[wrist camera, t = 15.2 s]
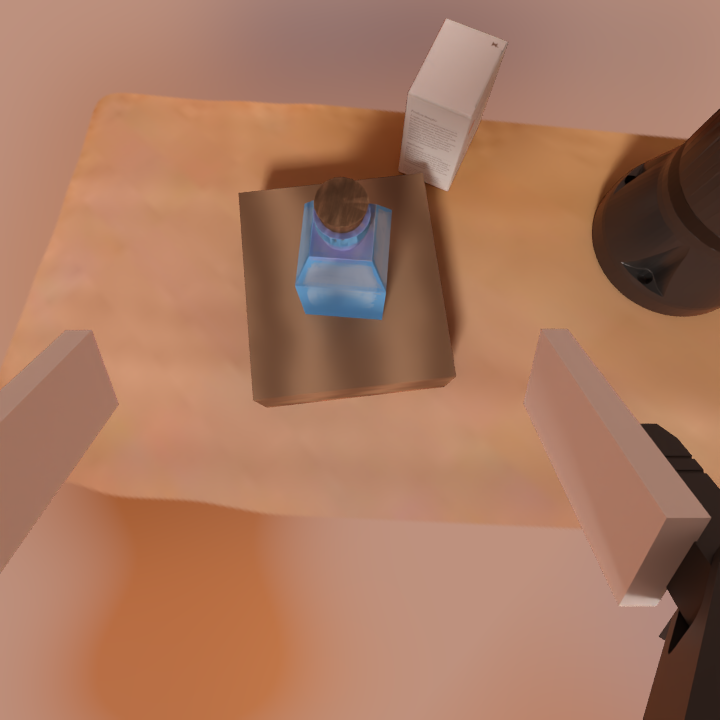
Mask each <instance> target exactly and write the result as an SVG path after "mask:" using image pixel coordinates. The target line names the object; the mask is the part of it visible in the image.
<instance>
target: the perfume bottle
mask: <svg viewBox="0 0 720 720" xmlns="http://www.w3.org/2000/svg"><path fill="white" fill-rule="evenodd" d="M391 216H392V210H391V209H388V208H385V207H383V206H380V205H377V204H369V201H368V195H367V193H366V191H365V189H364V188H363V186H362V185H361V184H360V183H358V182H357V181H355V180H353V179H350V178H345V177H337V178H333V179H330V180H327V181H326V182H324V183H323V184H322V185H320V187H319V188H318V190H317V191H316V193H315V196H314V200H313V201H310V202H308V203H305V204H304V213H303V222H302V230H301V239H300V248H299V256H298V265H297V274H296V282H295V287H296V290H297V293H298V295H299V298H300V301H301V303H302V306H303V309H304V311H305V314H312V315H325V316H338V317H351V318H364V319H377V320H382V315H383V309H384V303H385V296H386V286H387V272H388V258H389V244H390V230H391Z"/></svg>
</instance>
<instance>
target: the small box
mask: <svg viewBox="0 0 720 720" xmlns="http://www.w3.org/2000/svg"><path fill="white" fill-rule="evenodd" d="M507 45H508V42H507V41H505V40H503V39H500V38H497V37H495V36H492V35H490V34H487V33H484V32H482V31H479V30H477V29H474V28H471V27H469V26H466V25H463V24H461V23H458V22H456V21H453V20H450V19H445V20H444V22H443V25H442V26H441V28H440V30H439V32H438V35H437V36H436V38H435V40H434V42H433V44H432V46H431V48H430V50H429V52H428V54H427V56H426V58H425V60H424V62H423V64H422V66H421V68H420V70H419V71H418V74H417V75H416V77H415V79H414V81H413V83H412V85H411V87H410V89H409V91H408V94H407V102H406V111H405V119H404V127H403V136H402V144H401V153H400V161H399V169H398V170H399V172H402V173H404V174H407V175H408V174H418V173H423V176H424V182H426V183H428V184H431V185H433V186H435V187H438V188H440V189H443V190H445V191H448V190H449V188H450V186H451V184H452V182H453V179H454V177H455V175H456V173H457V171H458V169H459V167H460V164H461V162H462V160H463V158H464V156H465V154H466V152H467V149H468V147H469V145H470V143H471V141H472V139H473V137H474V135H475V133H476V131H477V129H478V126H479V123H480V121H481V118H482V115H483V112H484V110H485V107H486V104H487V101H488V98H489V96H490V93H491V90H492V87H493V84H494V82H495V79H496V76H497V73H498V70H499V67H500V64H501V62H502V59H503V55H504V53H505V50H506V48H507Z"/></svg>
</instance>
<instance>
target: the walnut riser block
mask: <svg viewBox="0 0 720 720" xmlns="http://www.w3.org/2000/svg"><path fill="white" fill-rule="evenodd" d="M355 181H357V182H358V183H360V184H361V185H362V186H363V188H364V189H365V191H366V193H367V195H368V201H369V204H377V205H380V206H383V207H385V208H388V209H391V210H392V216H391V230H390V244H389V258H388V272H387V286H386V296H385V303H384V309H383V315H382V320H377V319H364V318H351V317H338V316H325V315H312V314H305V311H304V309H303V306H302V303H301V301H300V298H299V295H298V293H297V290H296V287H295V282H296V274H297V265H298V256H299V248H300V239H301V230H302V222H303V213H304V204H305V203H308V202H310V201H313V200H314V196H315V193H316V191H317V190H318V188H319V187H320V185H322V184H316V185H307V186H298V187H289V188H280V189H271V190H261V191H252V192H243V193H239V205H240V220H241V234H242V248H243V262H244V277H245V291H246V305H247V319H248V334H249V348H250V362H251V376H252V390H253V400H254V401H256V402H258V403H260V404H261V405H263V406H265V407H267V408H268V407H276V406H285V405H293V404H302V403H310V402H319V401H327V400H336V399H344V398H353V397H361V396H370V395H378V394H387V393H395V392H404V391H412V390H421V389H429V388H438V387H444V386H446V385H447V384H448V383H449V382H450V381H451V380H452V379H454V378H455V377H456V372H455V366H454V360H453V354H452V348H451V342H450V336H449V329H448V323H447V317H446V311H445V305H444V299H443V293H442V287H441V280H440V274H439V268H438V262H437V256H436V250H435V244H434V237H433V231H432V225H431V219H430V213H429V207H428V201H427V195H426V188H425V182H424V176H423V173H418V174H408V175H399V176H390V177H381V178H372V179H362V180H355Z"/></svg>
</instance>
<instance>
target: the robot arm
mask: <svg viewBox="0 0 720 720" xmlns="http://www.w3.org/2000/svg"><path fill="white" fill-rule="evenodd" d="M592 237H593V246H594V250H595V254H596V257H597V259H598V262H599V264H600V266H601V268H602V270H603V272H604V273H605V275H606V276H607V278H608V279H609V280H610V282H611V283H612V284H613V285H614V286H615V287H616V288H617V289H618V290H619V291H620V292H621V293H622V294H623V295H625V296H626V297H627V298H629V299H630V300H631V301H633V302H635V303H636V304H638V305H640V306H642V307H644V308H646V309H648V310H651V311H654V312H657V313H661V314H665V315H670V316H696V315H701V314H705V313H708V312H711V311H714V310H716V309H718V308H720V109H719V110H718V111H717V112H716V113H715V114H714V115H712V116H711V117H710V118H709V119H708V120H707V121H706V122H705V123H704V124H703V125H702V126H701V127H700V128H699V129H698V130H697V131H696V132H695V133H694V134H693V135H692V136H691V137H690V138H689V139H688V140H687V141H686V142H685V143H684V144H683V145H681V146H679V147H677V148H675V149H673V150H671V151H668V152H666V153H664V154H662V155H660V156H658V157H656V158H654V159H652V160H650V161H648V162H646V163H643V164H641V165H640V166H638V167H636V168H634V169H633V170H631V171H630V172H628V173H627V174H626V175H625V176H623V177H622V178H621V179H620V180H619V181H618V182H617V183H616V184H615V185H614V187H613V188H612V189H611V190H610V191H609V192H608V193H607V194H606V195H605V197H604V198H603V200H602V201H601V203H600V205H599V207H598V209H597V211H596V214H595V217H594V222H593V230H592ZM523 404H524V406H525V408H526V410H527V412H528V414H529V416H530V419H531V421H532V423H533V425H534V427H535V429H536V431H537V433H538V436H539V438H540V440H541V442H542V444H543V446H544V448H545V450H546V453H547V455H548V457H549V459H550V461H551V463H552V465H553V468H554V470H555V472H556V474H557V476H558V478H559V480H560V482H561V485H562V487H563V489H564V491H565V493H566V495H567V497H568V499H569V502H570V504H571V506H572V508H573V510H574V512H575V514H576V516H577V519H578V521H579V523H580V525H581V527H582V529H583V531H584V533H585V536H586V538H587V540H588V542H589V544H590V546H591V548H592V551H593V553H594V554H595V557H596V559H597V561H598V563H599V565H600V568H601V570H602V572H603V574H604V576H605V578H606V580H607V582H608V585H609V587H610V589H611V591H612V593H613V595H614V597H615V599H616V602H617V604H618V606H657V604H658V603H659V601H660V600H661V598H662V596H663V595H664V593H665V592H666V590H668V591H669V593H670V595H671V596H672V598H673V600H674V602H675V603H676V605H677V607H678V609H677V610H676V612H675V613H674V615H673V616H672V618H671V619H670V621H669V622H668V624H667V625H666V627H665V628H664V630H663V631H662V633H661V634H660V635H659V637H660V638H662V639H663V640H665V639H666V640H665V644H664V647H663V650H662V654H661V657H660V661H659V664H658V668H657V671H656V675H655V678H654V682H653V685H652V689H651V693H650V696H649V699H648V703H647V707H646V710H645V713H644V717H643V720H720V489H719V488H718V487H717V485H716V484H715V483H714V482H713V481H712V479H711V478H710V477H709V476H708V475H707V473H704V472H703V469H702V467H701V466H700V465H699V464H698V463H697V461H696V460H695V459H692V455H691V454H690V453H689V452H688V450H687V449H686V448H685V447H684V446H683V444H682V443H681V442H680V441H679V440H678V438H676V437H675V436H673V435H672V434H670V433H669V432H668V431H666V430H665V429H663V428H662V427H661V426H659V425H658V424H640V423H639V422H638V421H637V419H636V418H635V417H634V416H633V414H632V413H631V412H630V410H629V409H628V408H627V406H626V405H625V404H624V402H623V401H622V400H621V398H620V397H619V396H618V395H617V393H616V392H615V391H614V389H613V388H612V387H611V385H610V384H609V383H608V381H607V380H606V379H605V377H604V376H603V375H602V374H601V372H600V371H599V370H598V368H597V367H596V366H595V364H594V363H593V362H592V360H591V359H590V358H589V356H588V355H587V354H586V353H585V351H584V350H583V349H582V347H581V346H580V345H579V343H578V342H577V341H576V339H575V338H574V337H573V335H572V334H571V333H570V332H569V330H568V329H541V332H540V336H539V340H538V344H537V349H536V353H535V357H534V361H533V365H532V370H531V374H530V378H529V382H528V386H527V391H526V395H525V399H524V403H523ZM118 405H119V403H118V400H117V398H116V395H115V392H114V390H113V387H112V384H111V381H110V379H109V376H108V373H107V370H106V368H105V365H104V362H103V359H102V357H101V354H100V351H99V348H98V346H97V343H96V340H95V337H94V335H93V332H92V330H65V331H64V332H63V333H62V334H61V335H60V336H59V337H58V338H57V339H56V340H54V341H53V342H52V343H51V344H50V345H49V346H48V347H47V348H46V349H45V350H44V351H43V352H41V353H40V354H39V355H38V356H37V357H36V358H35V359H34V360H33V361H32V362H31V363H29V364H28V365H27V366H26V367H25V368H24V369H23V370H22V371H21V372H20V373H19V374H18V375H16V376H15V377H14V378H13V379H12V380H11V381H10V382H9V383H8V384H7V385H6V386H4V387H3V388H2V389H1V390H0V573H1V572H2V570H3V569H4V567H5V566H6V565H7V563H8V562H9V560H10V559H11V557H12V556H13V555H14V553H15V552H16V550H17V549H18V547H19V546H20V545H21V543H22V541H23V540H24V539H25V537H26V536H27V535H28V533H29V532H30V530H31V529H32V527H33V526H34V525H35V523H36V522H37V520H38V519H39V517H40V516H41V515H42V513H43V512H44V510H45V509H46V507H47V506H48V505H49V503H50V502H51V500H52V499H53V497H54V496H55V495H56V493H57V491H58V490H59V489H60V488H61V486H62V485H63V483H64V482H65V480H66V479H67V478H68V476H69V475H70V473H71V472H72V470H73V469H74V468H75V466H76V465H77V463H78V462H79V460H80V459H81V458H82V456H83V455H84V453H85V452H86V450H87V449H88V448H89V446H90V445H91V443H92V442H93V440H94V439H95V438H96V436H97V435H98V433H99V432H100V430H101V429H102V428H103V426H104V425H105V423H106V422H107V420H108V419H109V418H110V416H111V415H112V413H113V412H114V410H115V409H116V408H117V406H118Z"/></svg>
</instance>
